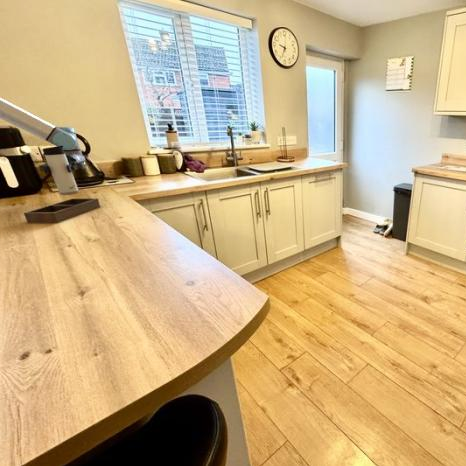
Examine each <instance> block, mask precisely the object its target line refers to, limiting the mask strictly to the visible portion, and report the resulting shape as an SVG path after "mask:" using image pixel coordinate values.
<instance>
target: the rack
mask: <svg viewBox="0 0 466 466" xmlns="http://www.w3.org/2000/svg"><path fill="white" fill-rule="evenodd" d="M99 208H101V204H100V201H99V198H94V197H93V198H92V197H91V198H82V197H81V198H79V197H78V198H74V197H73V198H68V199H66V200H62V201H59V202H56V203H53V204H49V205H46V206H43V207H38V208H36V209H32V210H30V211H26V212H23V215H24V217H25V219H26V222H27V224H59V223H62V222H64V221H67V220H70V219H72V218H75V217H77V216H80V215H83V214H85V213H86V214H87V213H89V212H91V211H94V210H96V209H99Z"/></svg>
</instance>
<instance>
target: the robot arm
mask: <svg viewBox="0 0 466 466" xmlns="http://www.w3.org/2000/svg"><path fill="white" fill-rule="evenodd" d="M0 120H2V121H4V122H7V123H9V124H11V125H13V126H14V127H17V128H19V129H21V130H23V131H25V132H27V133H29V134H31V135H33V136H36V137H37V138H40V139H42V140H44V141H46V142H47V143H49V144H52V145H54V147H57V146H61V145H63V146H64V147H63V150H64V153H65V155H66V158H67V160H68V163H69V165H67V166H66V167H67V170H68V173H70V172H72V173H74V172H76V171H77V170H83V169H85V168H86V167H87V163H86V157H85V155H83V153H82V150H81V147H80V144H79V140H78V137H77V134H76V131H75V129H74V128H73V127H72V126H56V125H53V124H52V123H50V122H48V121H46V120H44V119H42V118H40V117H39V116H37V115H35V114H33V113H32V112H31V113H30V112H29V111H27V110H25V109H23V108H21V107H20V106H17V105H16V104H14V103H12V102H10V101H8V100H6V99H5V98H2V97H0ZM38 167H39V170H40V172H44V175H48V174H52V173H51V171H50V168H49V166H48V163H47V161H46V162H44V163H42V164H39V165H38Z"/></svg>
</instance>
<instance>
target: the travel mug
mask: <svg viewBox="0 0 466 466" xmlns="http://www.w3.org/2000/svg"><path fill="white" fill-rule="evenodd" d="M63 147H64V146H63V145H61V146H51V147H45V148H42V152H43V154H44V155H43V156H44V157H45V160H46V162H47V163H48V166H49V168H50V171H51V173H50V174H51V175H52V178H53V181H54V183H55V186H56V188H57V191H58V194H59V195H60V196H69V195H76V194H79V192H80V190H79V188H78V185H77V182H76V180H75V177H74V174H73V172H70V173H68V170H67V167H66V166H67V165H69V163H68V160H67V158H66V155H65V153H64V150H63Z"/></svg>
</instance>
